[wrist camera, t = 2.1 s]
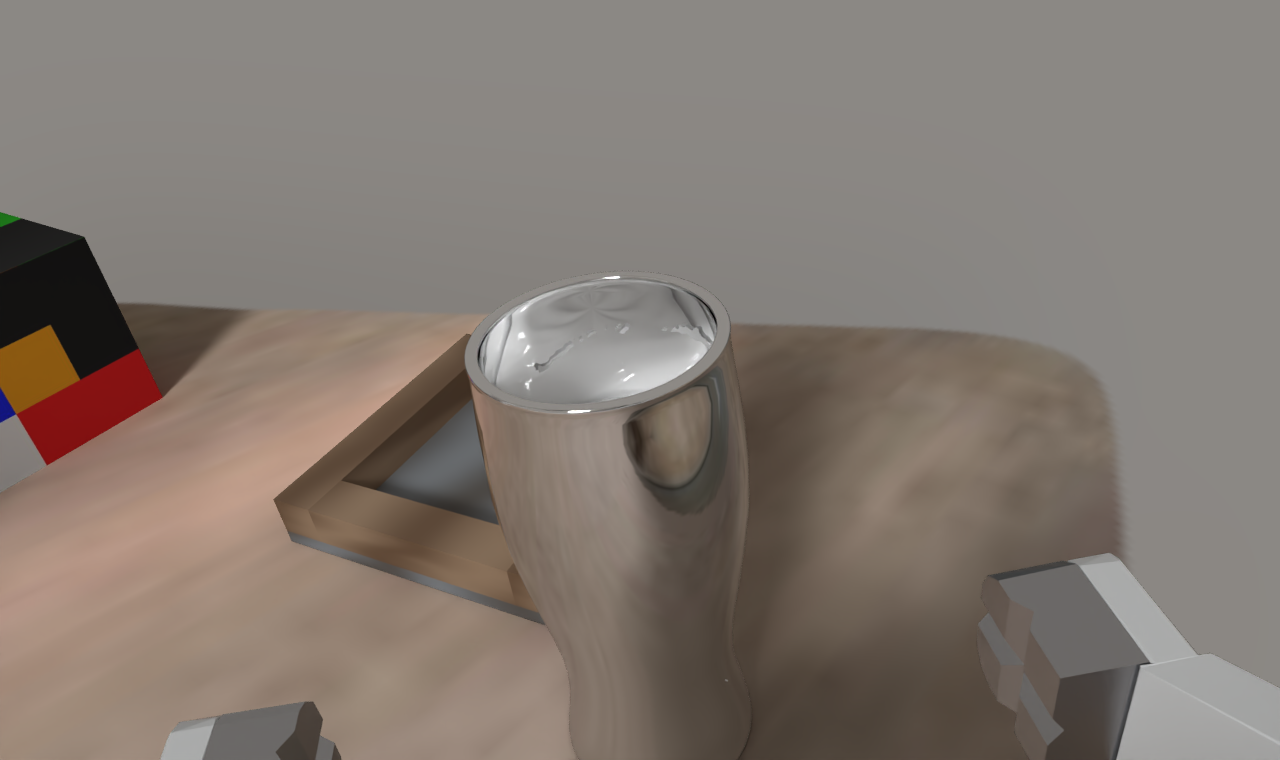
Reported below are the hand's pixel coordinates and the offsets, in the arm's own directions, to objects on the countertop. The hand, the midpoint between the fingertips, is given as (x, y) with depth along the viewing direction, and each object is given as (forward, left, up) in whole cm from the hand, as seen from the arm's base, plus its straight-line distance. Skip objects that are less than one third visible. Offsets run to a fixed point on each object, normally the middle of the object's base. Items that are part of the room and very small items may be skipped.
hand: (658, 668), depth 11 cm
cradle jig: (-19, +19, -17) cm, 32 cm away
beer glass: (-7, +10, -17) cm, 21 cm away
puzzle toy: (-48, +14, -17) cm, 53 cm away
